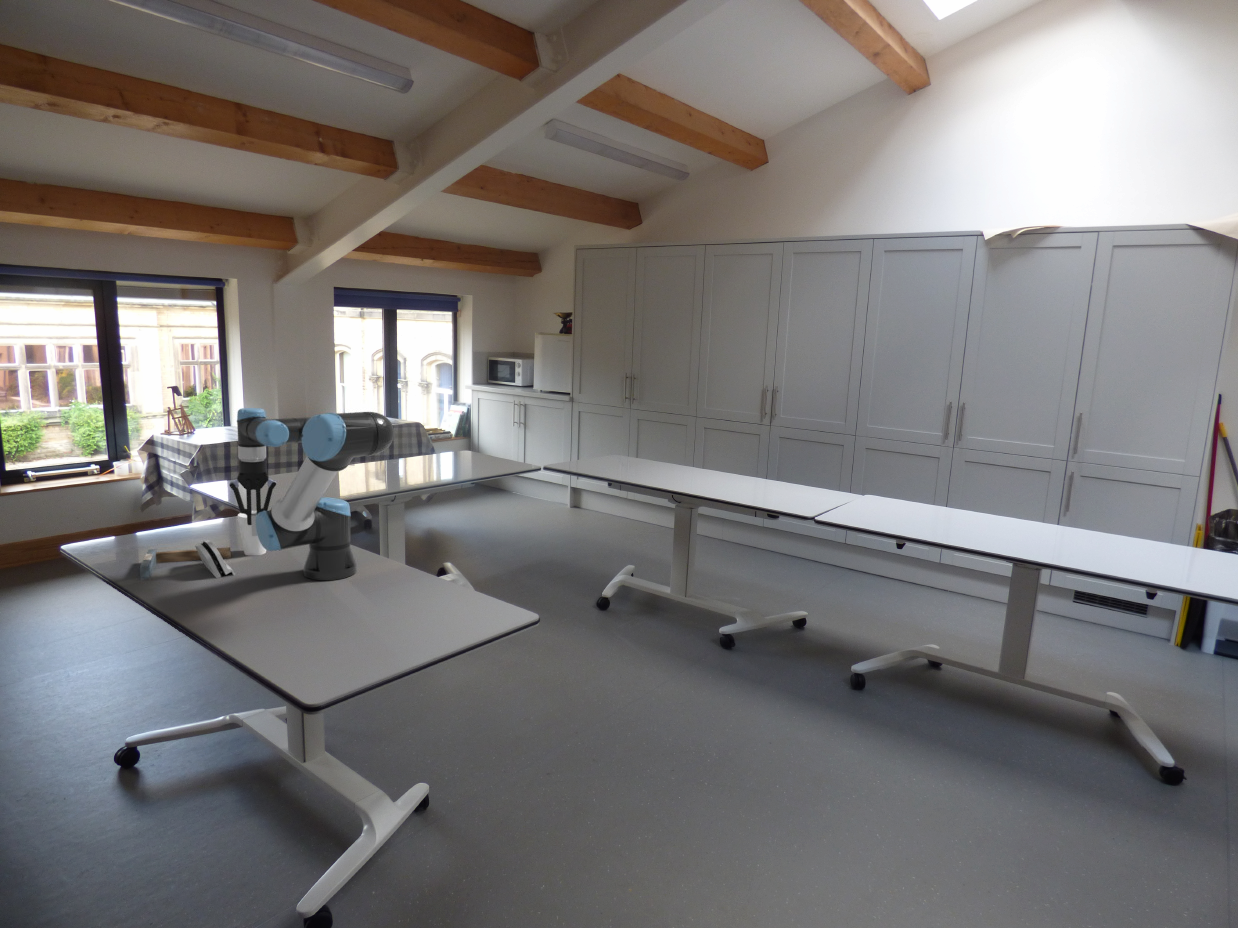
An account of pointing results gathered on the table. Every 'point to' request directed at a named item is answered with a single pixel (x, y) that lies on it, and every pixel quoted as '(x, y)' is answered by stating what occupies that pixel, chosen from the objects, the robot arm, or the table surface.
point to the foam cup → (249, 537)
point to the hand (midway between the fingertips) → (254, 534)
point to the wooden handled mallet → (172, 558)
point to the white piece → (213, 559)
